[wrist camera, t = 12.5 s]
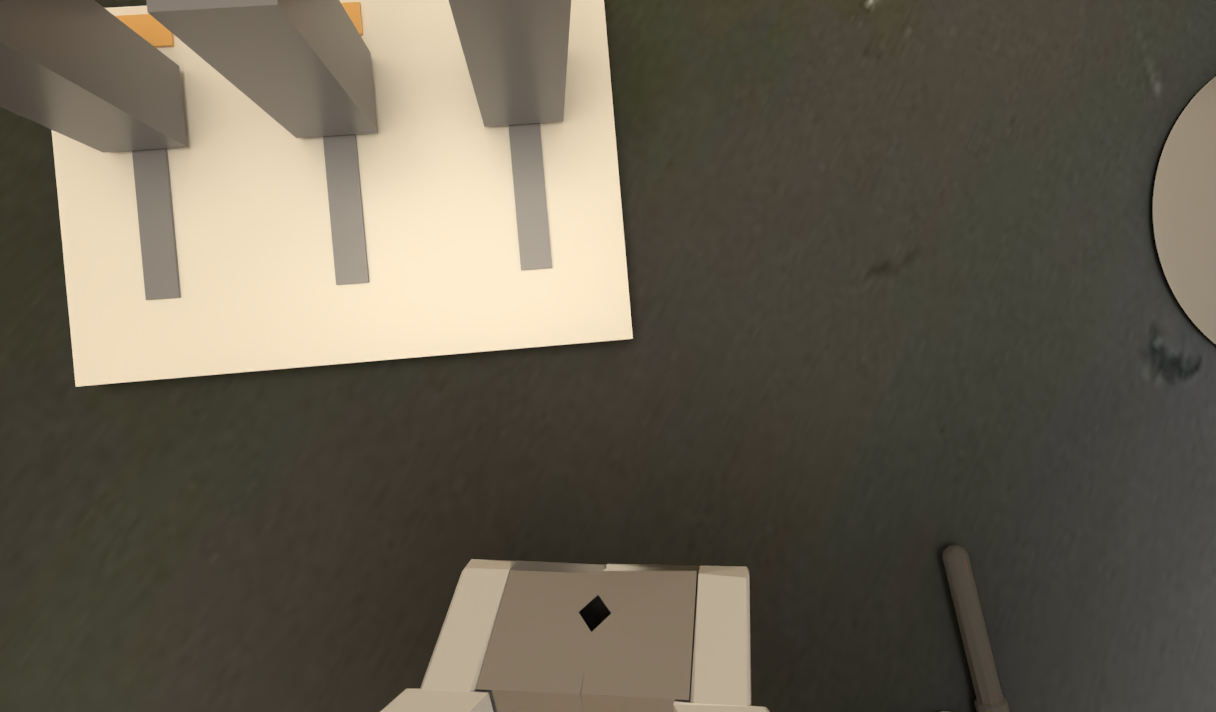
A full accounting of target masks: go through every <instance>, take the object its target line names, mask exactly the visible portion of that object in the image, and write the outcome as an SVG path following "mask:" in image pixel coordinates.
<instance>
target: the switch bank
mask: <svg viewBox="0 0 1216 712" xmlns="http://www.w3.org/2000/svg"><path fill="white" fill-rule="evenodd" d="M339 1H340V2H341V4H342V6H343V7H344V9H345V11H346V12H347V14H348V16H349V18H350V19H351V21H352V23H353V24H354V26H355V28H356V29H357V31H358V33H359V34H360V36H361V38H362V39H363V41H364V43H365V44H366V46H367V48H368V49H369V51H370V53H371V64H372V75H373V86H374V97H375V109H376V120H377V131H378V133H363V134H348V135H333V136H319V137H304V138H296V137H295V136H293V135H292V134H291V133H290V132H289V131H288V130H286V129H285V128H284V127H283V126H282V125H280V124H279V123H278V122H277V121H276V120H274V119H273V118H272V117H271V116H270V115H269V114H267V113H266V112H265V111H264V110H263V109H261V108H260V107H259V106H258V105H257V104H256V103H254V102H253V101H252V100H251V99H250V98H248V97H247V96H246V95H245V94H244V93H243V92H241V91H240V90H239V89H238V88H237V87H235V86H234V85H233V84H232V83H231V82H230V81H228V80H227V79H226V78H225V77H224V76H222V75H221V74H220V73H219V72H218V71H216V70H215V69H214V68H213V67H212V66H211V65H209V64H208V63H207V62H206V61H205V60H203V59H202V58H201V57H200V56H199V55H198V54H196V53H195V52H194V51H193V50H192V49H190V48H189V47H188V46H187V45H186V44H185V43H183V42H182V41H181V40H180V39H179V38H177V37H176V36H175V35H174V34H173V33H171V32H170V31H169V30H168V29H167V28H166V27H164V26H163V25H162V24H161V23H160V22H158V21H157V20H156V19H155V18H154V17H153V16H151V15H150V14H149V13H148V12H147V6H130V7H113V8H105V9H106V10H107V11H109V12H110V13H111V14H113V15H114V16H115V17H116V18H118V19H119V20H120V21H122V22H123V23H124V24H126V25H127V26H128V27H129V28H131V29H132V30H133V31H135V32H136V33H137V34H138V35H140V36H141V37H142V38H144V39H145V40H146V41H148V42H149V43H150V44H151V45H153V46H154V47H155V48H157V49H158V50H159V51H161V52H162V53H163V54H164V55H166V56H167V57H168V58H170V59H171V60H172V61H173V62H175V63H176V64H177V65H179V69H180V80H181V91H182V102H183V113H184V124H185V135H186V145H187V147H177V148H162V149H148V150H133V151H118V152H104V153H103V152H101V151H98V150H96V149H94V148H92V147H89V146H87V145H85V144H83V143H80V142H78V141H76V140H74V139H71V138H69V137H67V136H65V135H62V134H60V133H58V132H56V131H53V130H52V140H53V150H54V161H55V172H56V182H57V193H58V203H59V214H60V225H61V235H62V246H63V257H64V267H65V278H66V289H67V299H68V310H69V321H70V331H71V342H72V353H73V363H74V374H75V385H76V387H77V386H90V385H103V384H115V383H127V382H138V381H150V380H162V379H173V378H185V377H196V376H208V375H220V374H231V373H243V372H255V371H266V370H278V369H290V368H301V367H313V366H325V365H336V364H348V363H359V362H371V361H383V360H394V359H406V358H418V357H429V356H441V355H453V354H464V353H476V352H487V351H499V350H511V349H522V348H534V347H546V346H557V345H569V344H581V343H592V342H604V341H616V340H627V339H633V333H632V321H631V310H630V298H629V286H628V275H627V263H626V251H625V240H624V228H623V216H622V205H621V193H620V181H619V170H618V158H617V147H616V135H615V123H614V112H613V100H612V88H611V77H610V65H609V53H608V42H607V30H606V18H605V7H604V0H571V12H570V27H569V42H568V57H567V72H566V88H565V103H564V118H563V121H559V122H544V123H530V124H515V125H500V126H486V127H484V123H483V120H482V116H481V113H480V109H479V106H478V102H477V99H476V95H475V92H474V88H473V85H472V81H471V78H470V74H469V71H468V67H467V64H466V60H465V56H464V53H463V49H462V46H461V42H460V39H459V35H458V32H457V28H456V25H455V21H454V18H453V14H452V11H451V7H450V4H449V0H339Z"/></svg>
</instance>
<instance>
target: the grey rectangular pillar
mask: <svg viewBox="0 0 1216 712" xmlns="http://www.w3.org/2000/svg"><path fill="white" fill-rule="evenodd" d="M146 1H147V12H148V13H149V14H150V15H151V16H153V17H154V18H155V19H156V20H157V21H158V22H160V23H161V24H162V25H163V26H164V27H166V28H167V29H168V30H169V31H170V32H171V33H173V34H174V35H175V36H176V37H177V38H179V39H180V40H181V41H182V42H183V43H185V44H186V45H187V46H188V47H189V48H190V49H192V50H193V51H194V52H195V53H196V54H198V55H199V56H200V57H201V58H202V59H203V60H205V61H206V62H207V63H208V64H209V65H211V66H212V67H213V68H214V69H215V70H216V71H218V72H219V73H220V74H221V75H222V76H224V77H225V78H226V79H227V80H228V81H230V82H231V83H232V84H233V85H234V86H235V87H237V88H238V89H239V90H240V91H241V92H243V93H244V94H245V95H246V96H247V97H248V98H250V99H251V100H252V101H253V102H254V103H256V104H257V105H258V106H259V107H260V108H261V109H263V110H264V111H265V112H266V113H267V114H269V115H270V116H271V117H272V118H273V119H274V120H276V121H277V122H278V123H279V124H280V125H282V126H283V127H284V128H285V129H286V130H288V131H289V132H290V133H291V134H292V135H293V136H295V137H296V138H304V137H319V136H333V135H348V134H363V133H378V131H377V120H376V109H375V97H374V86H373V75H372V64H371V53H370V51H369V49H368V48H367V46H366V44H365V43H364V41H363V39H362V38H361V36H360V34H359V33H358V31H357V29H356V28H355V26H354V24H353V23H352V21H351V19H350V18H349V16H348V14H347V12H346V11H345V9H344V7H343V6H342V4H341V2H340V1H339V0H146Z"/></svg>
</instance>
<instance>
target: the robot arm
mask: <svg viewBox="0 0 1216 712" xmlns="http://www.w3.org/2000/svg"><path fill="white" fill-rule="evenodd" d="M1153 227H1154V236H1155V242H1156V247H1157V251H1158V255H1159V259H1160V262H1161V265H1162V268H1163V271H1164V274H1165V276H1166V279H1167V281H1168V284H1169V286H1170V288H1171V290H1172V292H1173V294H1174V295H1175V297H1176V299H1177V301H1178V302H1179V304H1180V305H1181V307H1182V308H1183V310H1184V311H1185V313H1186V314H1187V315H1188V317H1189V318H1190V319H1191V321H1192V322H1193V323H1194V324H1195V325H1196V326H1197V327H1198V329H1199V330H1200V331H1201V332H1202V333H1203V334H1204V335H1205V336H1206V337H1208V338H1209V339H1210V340H1211V341H1212V342H1213V343H1214V344H1216V76H1215V77H1214V78H1213V79H1212V80H1211V81H1209V82H1208V83H1207V84H1206V85H1205V86H1204V87H1203V88H1202V89H1201V90H1200V91H1199V92H1198V93H1197V94H1196V95H1195V96H1194V97H1193V99H1192V100H1191V101H1190V102H1189V104H1188V105H1187V106H1186V108H1185V109H1184V110H1183V112H1182V113H1181V115H1180V116H1179V118H1178V120H1177V121H1176V123H1175V125H1174V127H1173V128H1172V130H1171V132H1170V135H1169V137H1168V139H1167V141H1166V144H1165V146H1164V149H1163V151H1162V154H1161V158H1160V161H1159V164H1158V169H1157V173H1156V178H1155V184H1154V192H1153ZM380 712H769V710H768V709H767V707H762V706H751V644H750V582H749V570H748V567H745V566H700V568H699V565H646V564H607V565H595V564H575V563H556V562H536V561H503V560H482V559H471V560H470V562H469V563H468V564H467V566H466V567H465V568H464V569H463V571H462V573H461V576H460V579H459V581H458V584H457V587H456V590H455V592H454V595H453V598H452V601H451V604H450V606H449V609H448V612H447V615H446V618H445V620H444V623H443V626H442V629H441V632H440V634H439V637H438V640H437V643H436V646H435V648H434V651H433V654H432V657H431V660H430V662H429V665H428V668H427V671H426V674H425V676H424V679H423V682H422V685H421V688H406V689H405V690H404V691H403V692H402V693H400V694H399V695H398V696H397V697H396V698H395V699H394V700H392V701H391V702H390V703H389V704H388V705H387V706H386V707H385V708H383V709H382V710H381V711H380Z"/></svg>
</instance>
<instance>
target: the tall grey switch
mask: <svg viewBox="0 0 1216 712" xmlns="http://www.w3.org/2000/svg"><path fill="white" fill-rule="evenodd" d="M449 4H450V7H451V11H452V14H453V18H454V21H455V25H456V28H457V32H458V35H459V39H460V42H461V46H462V49H463V53H464V56H465V60H466V64H467V67H468V71H469V74H470V78H471V81H472V85H473V88H474V92H475V95H476V99H477V102H478V106H479V109H480V113H481V116H482V120H483V123H484V127H486V126H500V125H515V124H530V123H544V122H559V121H563V118H564V103H565V88H566V72H567V57H568V42H569V27H570V12H571V0H449Z"/></svg>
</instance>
